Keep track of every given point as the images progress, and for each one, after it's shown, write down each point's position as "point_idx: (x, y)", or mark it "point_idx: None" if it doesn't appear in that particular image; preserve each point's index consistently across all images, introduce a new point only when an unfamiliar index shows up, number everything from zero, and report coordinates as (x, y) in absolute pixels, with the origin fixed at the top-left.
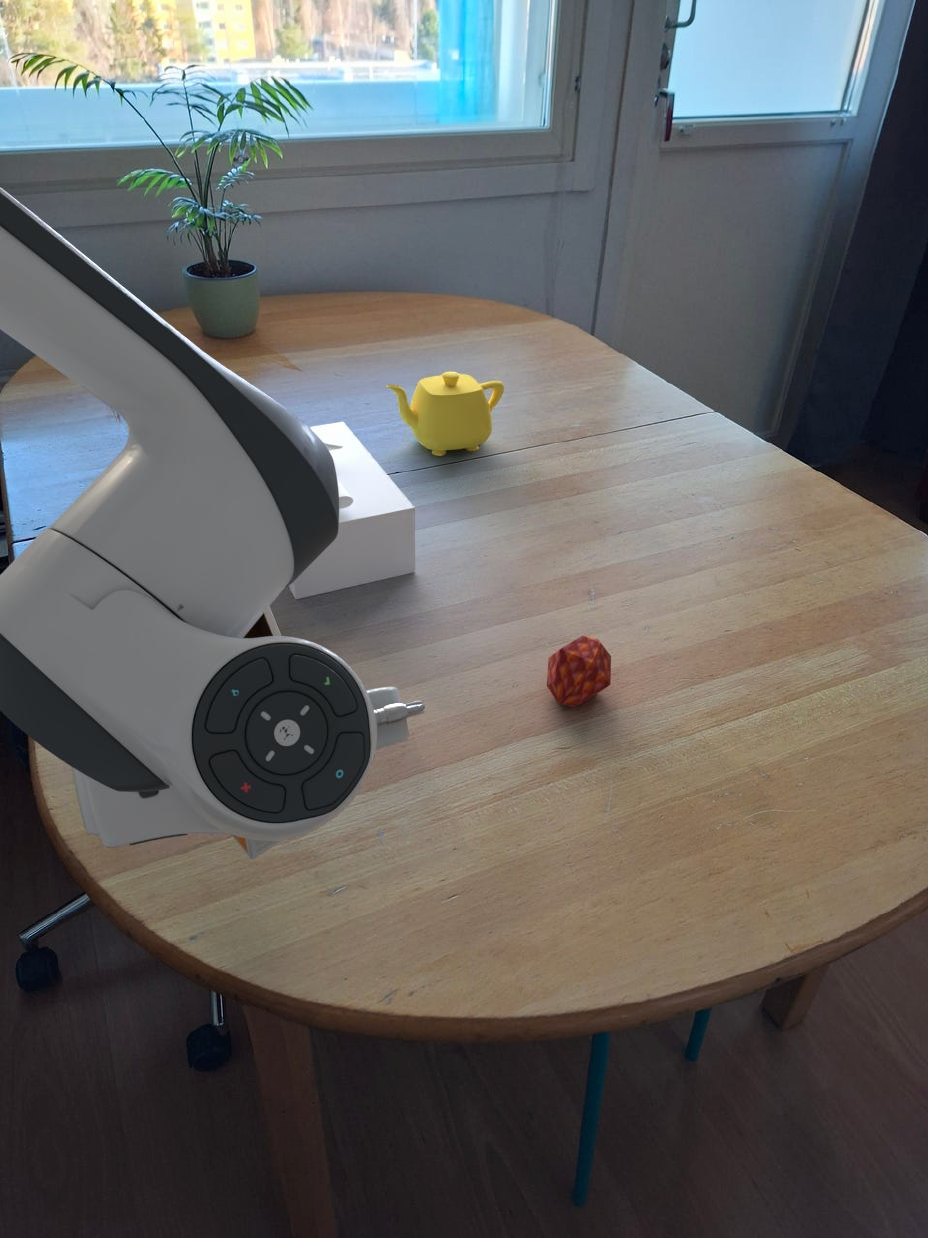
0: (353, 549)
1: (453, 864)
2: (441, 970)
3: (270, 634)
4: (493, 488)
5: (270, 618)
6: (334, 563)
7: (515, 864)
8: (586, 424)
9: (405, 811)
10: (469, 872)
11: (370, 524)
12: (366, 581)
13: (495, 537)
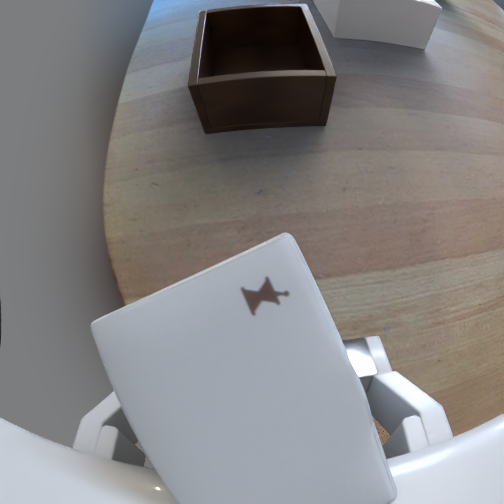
0: (389, 16)
1: (432, 377)
2: None
3: (319, 62)
4: (459, 22)
5: (321, 47)
6: (371, 20)
7: (470, 384)
8: (492, 18)
9: (414, 306)
10: (440, 387)
11: (407, 4)
12: (390, 42)
13: (470, 51)
